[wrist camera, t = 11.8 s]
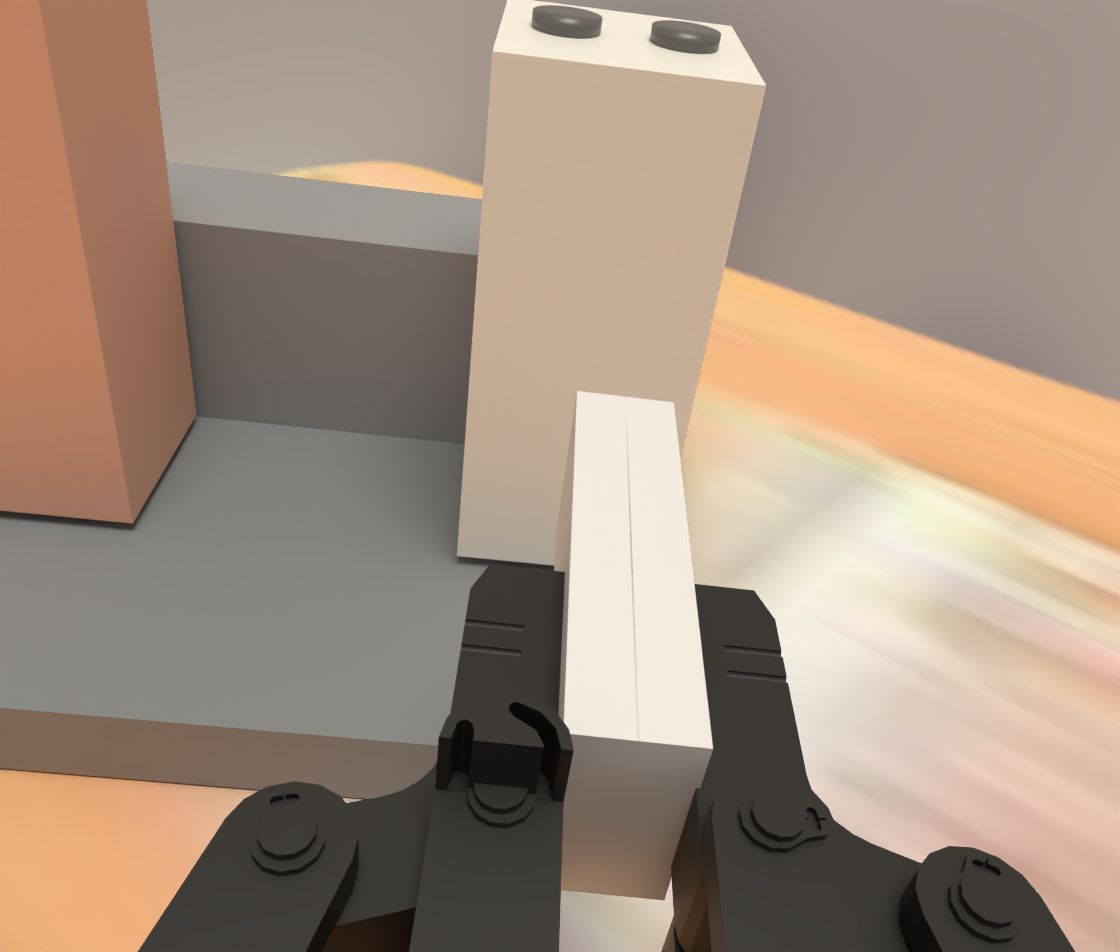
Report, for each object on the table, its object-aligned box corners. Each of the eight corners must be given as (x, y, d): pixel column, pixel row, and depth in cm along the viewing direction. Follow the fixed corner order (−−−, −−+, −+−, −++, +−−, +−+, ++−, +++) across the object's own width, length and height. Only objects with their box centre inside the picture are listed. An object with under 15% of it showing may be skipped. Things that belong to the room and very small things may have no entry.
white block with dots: (653, 575, 25) (769, 68, 18) (456, 556, 25) (494, 33, 17) (643, 461, 29) (734, 11, 22) (474, 444, 29) (509, -18, 21)
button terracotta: (133, 523, 24) (34, -26, 17) (-76, 503, 24) (-266, -64, 17) (196, 414, 28) (138, -67, 21) (19, 396, 28) (-102, -98, 21)
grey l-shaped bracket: (696, 826, 22) (786, 552, 17) (-241, 748, 21) (-419, 433, 16) (653, 445, 34) (700, 225, 29) (62, 383, 33) (11, 144, 28)
